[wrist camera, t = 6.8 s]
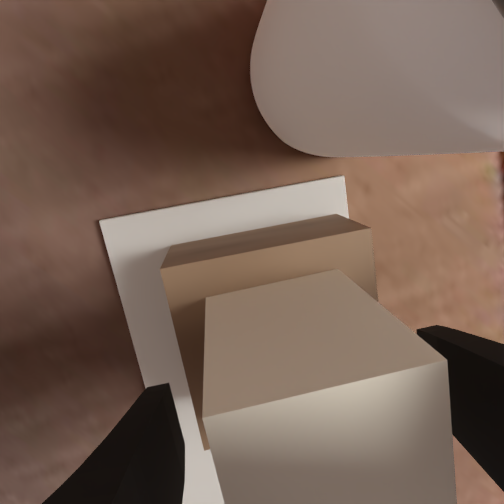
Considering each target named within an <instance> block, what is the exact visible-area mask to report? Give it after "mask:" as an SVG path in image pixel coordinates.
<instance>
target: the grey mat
mask: <svg viewBox="0 0 504 504" xmlns="http://www.w3.org/2000/svg"><path fill="white" fill-rule="evenodd" d="M333 214H338V215H341V216H343V217H346V218H348V219H349V215H348V206H347V197H346V188H345V178H344V176H342V175H340V176H335V177H330V178H324V179H319V180H313V181H308V182H302V183H297V184H292V185H286V186H281V187H275V188H270V189H264V190H259V191H254V192H248V193H243V194H237V195H232V196H226V197H221V198H216V199H210V200H205V201H199V202H194V203H188V204H183V205H178V206H172V207H167V208H161V209H156V210H150V211H145V212H140V213H134V214H129V215H123V216H118V217H112V218H107V219H102V220H100V221H99V222H100V226H101V230H102V233H103V237H104V240H105V244H106V248H107V251H108V255H109V259H110V262H111V266H112V269H113V273H114V277H115V280H116V284H117V287H118V291H119V295H120V298H121V302H122V305H123V309H124V313H125V316H126V320H127V323H128V327H129V331H130V334H131V338H132V342H133V345H134V349H135V352H136V356H137V360H138V363H139V367H140V370H141V374H142V378H143V381H144V385H145V388H147V387H151V386H155V385H160V384H165V383H169V384H170V388H171V392H172V396H173V399H174V403H175V407H176V411H177V415H178V419H179V423H180V427H181V430H182V434H183V438H184V442H185V483H184V492H183V500H182V504H225V503H224V499H223V496H222V492H221V488H220V484H219V480H218V476H217V473H216V469H215V465H214V461H213V457H212V454H211V450H210V449H209V450H205V451H204V448H203V444H202V440H201V436H200V432H199V428H198V424H197V420H196V416H195V411H194V407H193V403H192V399H191V395H190V391H189V387H188V383H187V379H186V375H185V370H184V366H183V362H182V358H181V354H180V350H179V346H178V342H177V338H176V334H175V330H174V325H173V321H172V317H171V313H170V309H169V305H168V301H167V297H166V293H165V289H164V284H163V280H162V276H161V272H160V268H161V265H162V263H163V261H164V259H165V257H166V255H167V252H168V250H169V248H170V246H171V245H176V244H181V243H186V242H191V241H197V240H202V239H207V238H212V237H218V236H223V235H228V234H233V233H239V232H244V231H249V230H254V229H260V228H265V227H270V226H275V225H280V224H286V223H291V222H296V221H301V220H307V219H312V218H317V217H322V216H328V215H333Z"/></svg>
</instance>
